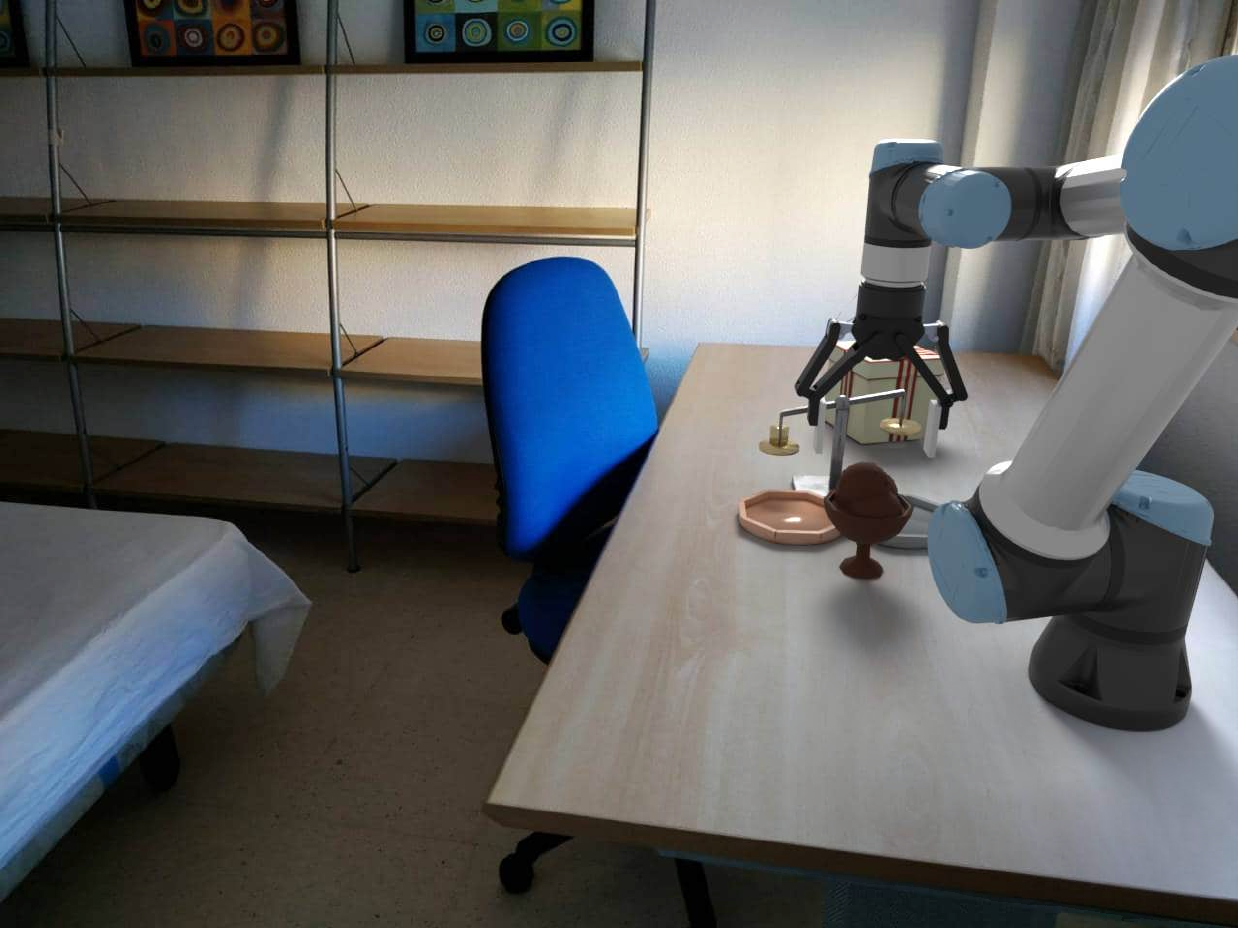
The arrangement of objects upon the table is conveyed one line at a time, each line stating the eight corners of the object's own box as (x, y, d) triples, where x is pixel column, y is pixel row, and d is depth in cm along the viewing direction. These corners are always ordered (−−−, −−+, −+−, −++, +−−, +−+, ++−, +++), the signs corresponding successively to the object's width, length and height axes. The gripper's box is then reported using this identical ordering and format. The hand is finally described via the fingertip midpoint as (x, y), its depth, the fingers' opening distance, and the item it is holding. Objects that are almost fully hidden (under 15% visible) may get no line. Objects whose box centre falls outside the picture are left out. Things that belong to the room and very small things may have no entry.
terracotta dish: (853, 546, 132) (854, 534, 132) (741, 543, 133) (742, 531, 133) (837, 502, 146) (838, 491, 146) (736, 499, 147) (737, 488, 147)
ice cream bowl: (908, 593, 120) (923, 480, 115) (816, 583, 123) (826, 472, 117) (903, 555, 130) (916, 449, 125) (818, 547, 132) (827, 443, 127)
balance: (917, 506, 145) (931, 398, 139) (758, 501, 147) (764, 394, 140) (906, 485, 153) (919, 382, 147) (754, 481, 154) (760, 378, 148)
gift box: (952, 436, 174) (965, 342, 168) (865, 449, 168) (875, 351, 162) (894, 408, 189) (904, 321, 183) (812, 419, 183) (819, 328, 177)
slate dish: (965, 550, 132) (967, 538, 131) (853, 546, 132) (854, 534, 132) (938, 505, 146) (940, 494, 145) (837, 502, 146) (838, 491, 146)
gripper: (993, 276, 116) (967, 444, 124) (781, 271, 117) (769, 437, 125) (1013, 289, 109) (984, 466, 117) (787, 284, 110) (773, 459, 118)
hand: (872, 452), depth 121 cm, fingers open, 13 cm apart
